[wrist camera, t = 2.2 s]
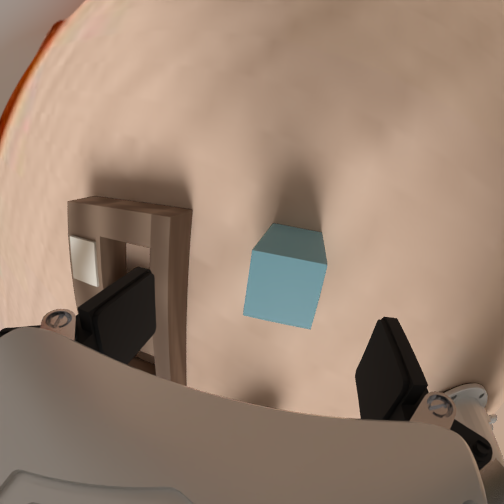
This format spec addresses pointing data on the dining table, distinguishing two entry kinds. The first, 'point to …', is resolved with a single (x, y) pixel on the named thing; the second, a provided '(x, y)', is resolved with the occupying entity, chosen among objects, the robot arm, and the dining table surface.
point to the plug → (286, 276)
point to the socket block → (114, 267)
